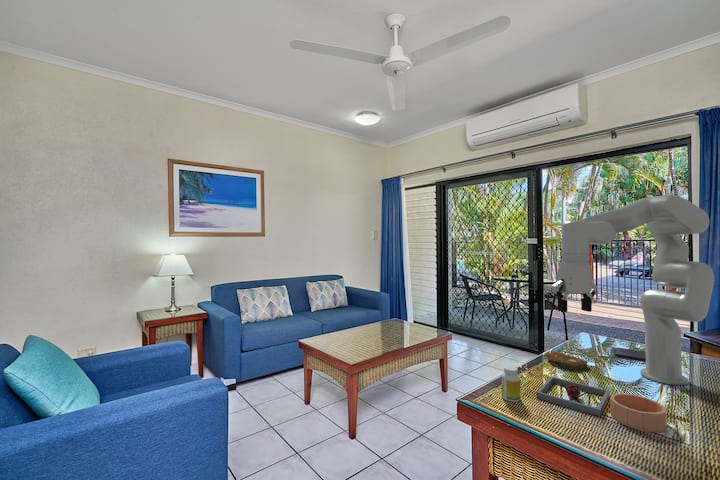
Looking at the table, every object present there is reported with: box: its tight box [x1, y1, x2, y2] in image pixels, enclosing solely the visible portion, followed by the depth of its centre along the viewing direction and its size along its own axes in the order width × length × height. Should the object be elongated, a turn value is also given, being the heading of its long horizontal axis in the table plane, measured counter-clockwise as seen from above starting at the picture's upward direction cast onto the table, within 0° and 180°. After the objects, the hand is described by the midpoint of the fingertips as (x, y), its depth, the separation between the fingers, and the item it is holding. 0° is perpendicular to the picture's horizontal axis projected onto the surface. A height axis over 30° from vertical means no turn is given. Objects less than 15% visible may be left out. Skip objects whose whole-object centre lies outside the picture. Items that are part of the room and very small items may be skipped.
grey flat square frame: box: [535, 376, 611, 417], centre depth 105 cm, size 17×17×2 cm
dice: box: [565, 384, 582, 399], centre depth 105 cm, size 4×4×4 cm
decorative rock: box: [545, 351, 588, 372], centre depth 132 cm, size 11×4×15 cm
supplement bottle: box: [501, 365, 521, 403], centre depth 105 cm, size 5×5×10 cm
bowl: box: [609, 392, 667, 434], centre depth 91 cm, size 12×12×5 cm
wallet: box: [609, 347, 646, 363], centre depth 140 cm, size 20×2×15 cm
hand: (574, 311), depth 107 cm, fingers open, 9 cm apart
